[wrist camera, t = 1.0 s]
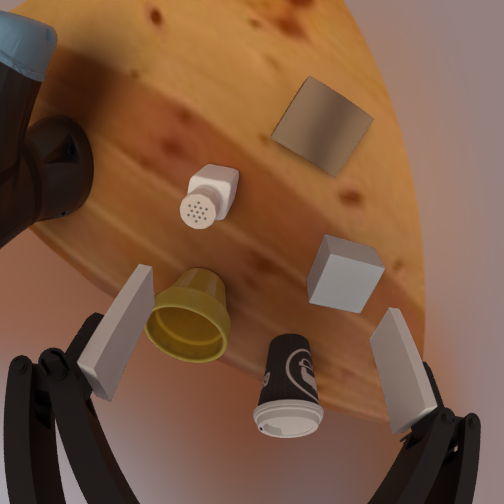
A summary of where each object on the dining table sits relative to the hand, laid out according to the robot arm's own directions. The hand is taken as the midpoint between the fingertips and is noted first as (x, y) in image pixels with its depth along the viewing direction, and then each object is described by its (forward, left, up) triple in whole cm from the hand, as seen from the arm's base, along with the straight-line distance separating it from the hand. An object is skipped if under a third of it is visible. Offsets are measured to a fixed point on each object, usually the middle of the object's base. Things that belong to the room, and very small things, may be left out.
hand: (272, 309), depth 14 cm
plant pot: (-2, -17, -19) cm, 25 cm away
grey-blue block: (+12, -4, -19) cm, 23 cm away
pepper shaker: (-6, -2, -19) cm, 20 cm away
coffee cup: (+15, -21, -19) cm, 32 cm away
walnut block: (0, +9, -19) cm, 21 cm away
